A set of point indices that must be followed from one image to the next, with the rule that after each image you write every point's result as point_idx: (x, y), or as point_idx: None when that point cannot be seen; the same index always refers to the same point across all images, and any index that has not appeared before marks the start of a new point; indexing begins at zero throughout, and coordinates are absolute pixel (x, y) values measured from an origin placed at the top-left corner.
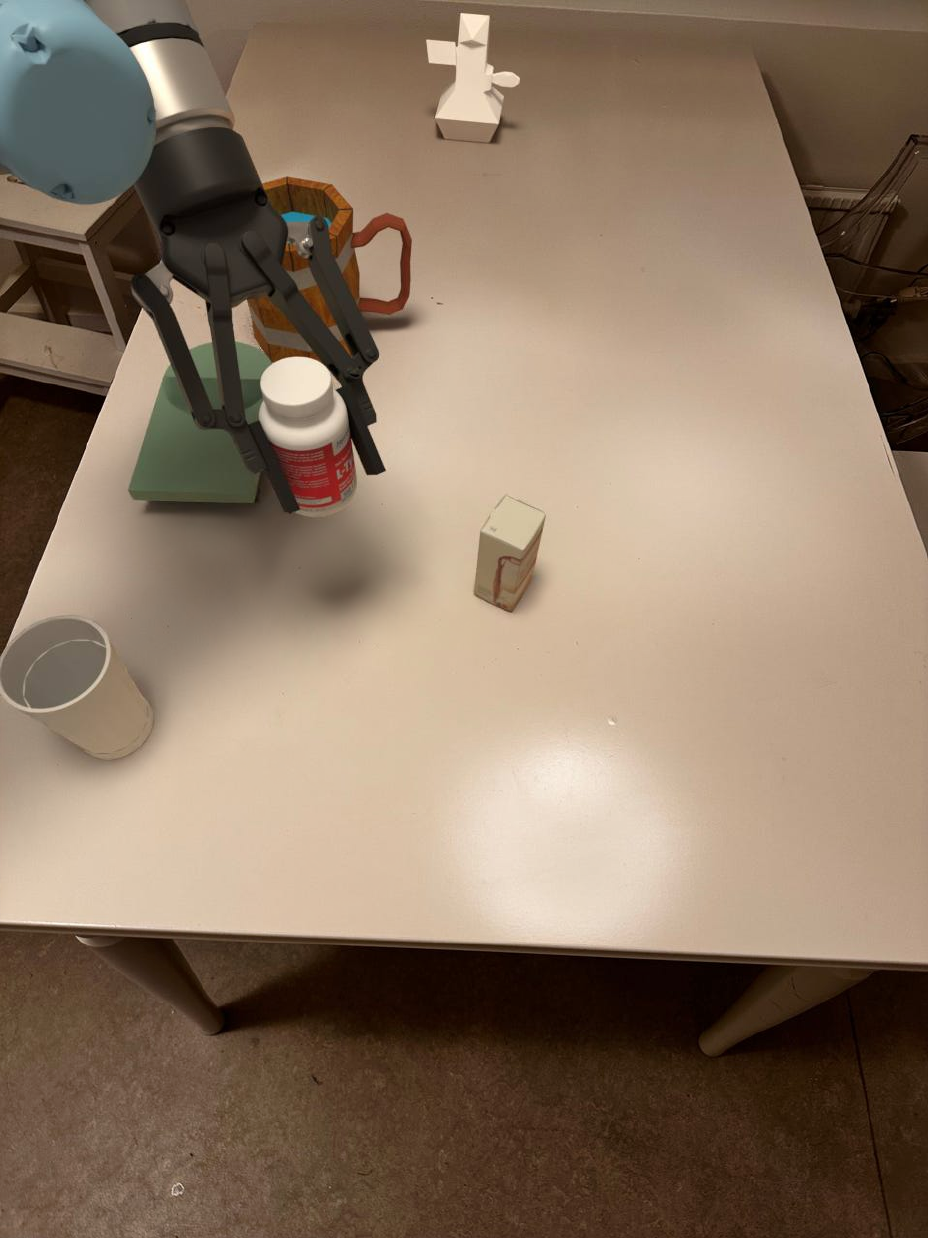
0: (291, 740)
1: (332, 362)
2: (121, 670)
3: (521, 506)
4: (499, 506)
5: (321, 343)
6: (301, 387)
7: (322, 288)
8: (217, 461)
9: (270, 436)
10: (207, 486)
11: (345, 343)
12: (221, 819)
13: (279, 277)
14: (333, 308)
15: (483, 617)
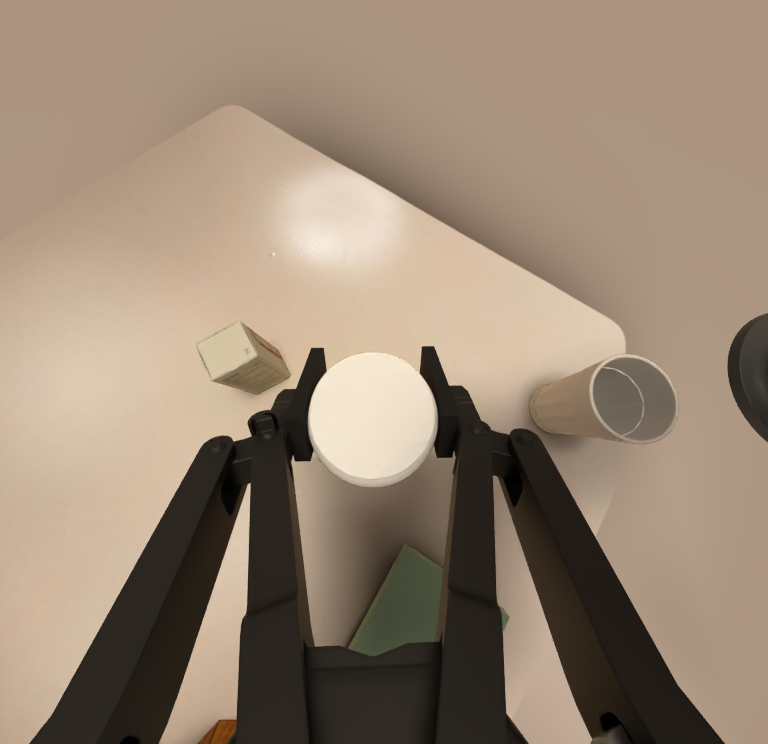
0: (453, 341)
1: (286, 459)
2: (572, 388)
3: (208, 361)
4: (225, 370)
5: (283, 483)
6: (371, 390)
7: (186, 631)
8: (420, 609)
9: (433, 396)
10: (439, 579)
11: (213, 741)
12: (508, 318)
13: (272, 663)
14: (205, 568)
15: (296, 356)
